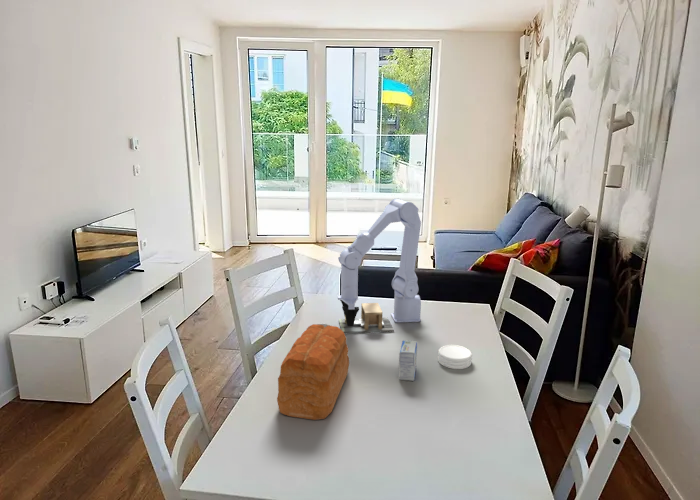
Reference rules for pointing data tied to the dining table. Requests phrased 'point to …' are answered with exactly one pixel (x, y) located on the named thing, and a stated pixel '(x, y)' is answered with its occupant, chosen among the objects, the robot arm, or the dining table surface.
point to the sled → (371, 322)
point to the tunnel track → (368, 310)
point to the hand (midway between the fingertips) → (348, 321)
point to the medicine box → (407, 360)
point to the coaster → (454, 357)
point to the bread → (313, 373)
